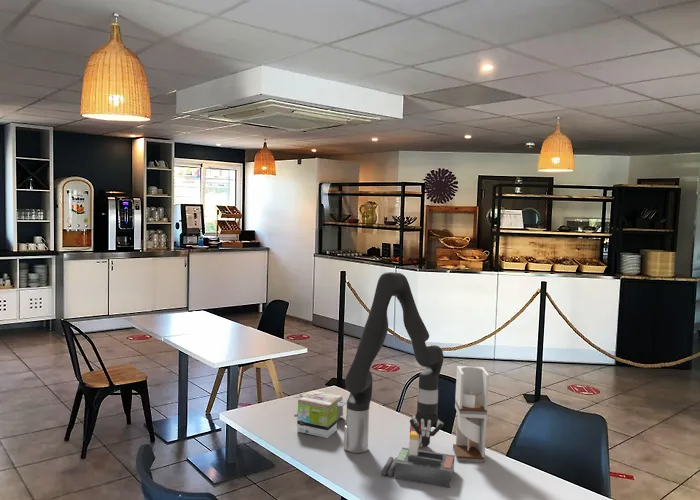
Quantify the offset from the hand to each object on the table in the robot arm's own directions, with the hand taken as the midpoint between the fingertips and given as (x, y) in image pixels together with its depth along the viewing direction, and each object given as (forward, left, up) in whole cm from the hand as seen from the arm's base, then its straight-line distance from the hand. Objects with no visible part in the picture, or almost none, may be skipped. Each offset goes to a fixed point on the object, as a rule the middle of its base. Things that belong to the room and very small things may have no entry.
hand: (425, 445), depth 214 cm
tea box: (-51, +24, -11) cm, 57 cm away
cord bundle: (-13, 0, -11) cm, 17 cm away
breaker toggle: (-4, 0, -5) cm, 7 cm away
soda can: (-7, +26, -11) cm, 29 cm away
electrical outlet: (-55, +43, -11) cm, 71 cm away
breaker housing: (0, 0, -11) cm, 11 cm away
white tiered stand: (+14, +23, -11) cm, 29 cm away
